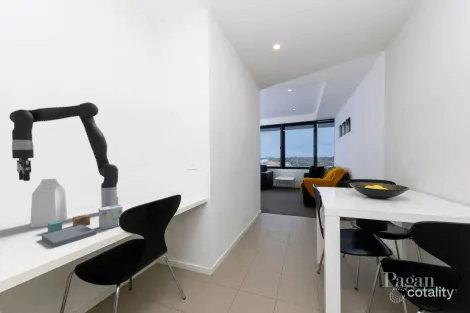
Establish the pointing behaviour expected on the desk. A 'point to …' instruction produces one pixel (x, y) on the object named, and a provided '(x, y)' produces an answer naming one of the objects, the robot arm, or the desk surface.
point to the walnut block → (81, 220)
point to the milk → (48, 203)
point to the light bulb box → (109, 216)
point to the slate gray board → (68, 235)
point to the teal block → (54, 226)
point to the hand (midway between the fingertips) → (24, 180)
